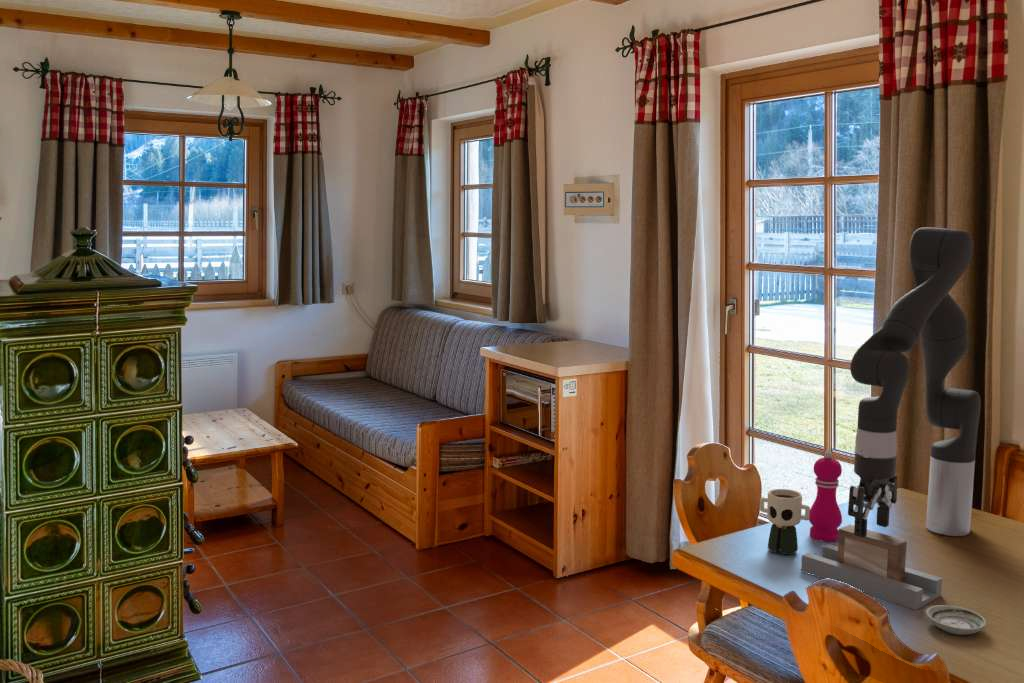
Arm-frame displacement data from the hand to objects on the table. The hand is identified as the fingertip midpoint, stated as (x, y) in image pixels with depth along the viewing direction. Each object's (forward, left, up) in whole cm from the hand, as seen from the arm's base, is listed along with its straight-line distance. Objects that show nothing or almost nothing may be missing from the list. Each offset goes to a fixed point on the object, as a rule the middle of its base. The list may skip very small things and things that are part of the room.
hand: (871, 531), depth 179 cm
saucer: (+7, +20, -11) cm, 24 cm away
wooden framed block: (0, 0, -10) cm, 10 cm away
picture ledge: (0, 0, -11) cm, 11 cm away
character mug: (-2, -21, -11) cm, 24 cm away
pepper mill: (-17, -20, -11) cm, 28 cm away
